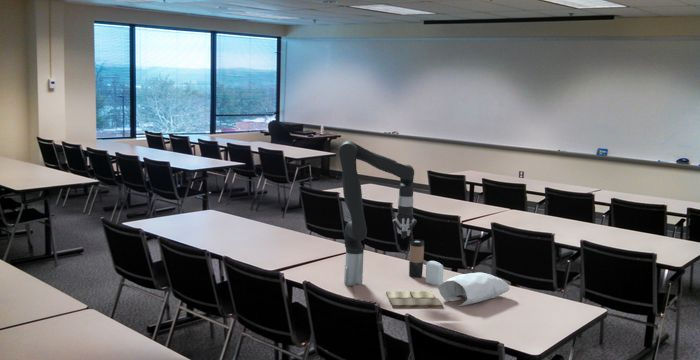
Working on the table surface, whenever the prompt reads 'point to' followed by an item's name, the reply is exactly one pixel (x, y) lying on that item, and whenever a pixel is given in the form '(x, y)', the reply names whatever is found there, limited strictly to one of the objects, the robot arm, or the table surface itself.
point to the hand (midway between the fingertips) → (403, 237)
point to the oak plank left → (397, 295)
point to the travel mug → (416, 258)
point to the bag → (472, 287)
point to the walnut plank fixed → (415, 303)
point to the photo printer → (434, 273)
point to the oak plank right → (422, 294)
